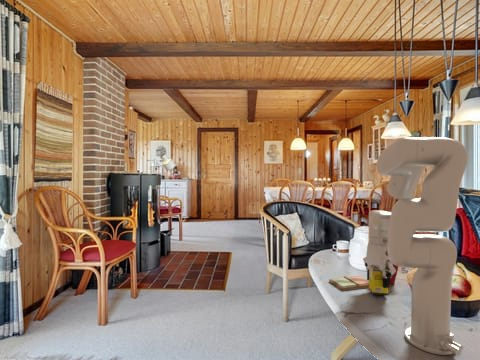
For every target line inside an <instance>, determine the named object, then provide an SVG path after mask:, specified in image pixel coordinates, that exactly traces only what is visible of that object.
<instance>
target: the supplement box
mask: <svg viewBox="0 0 480 360" xmlns="http://www.w3.org/2000/svg"><path fill="white" fill-rule="evenodd" d="M385 269H387V268H385ZM386 274H387V271H386ZM383 277H384V276H383V273H382V271H380V270H379V269H378V267H376V266H373V265H370V266H369V288H368V290H369V291H370V293H371V294H372V295H378V296H389V288H383Z"/></svg>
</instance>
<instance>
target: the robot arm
mask: <svg viewBox="0 0 480 360" xmlns="http://www.w3.org/2000/svg"><path fill="white" fill-rule="evenodd" d="M468 159H469V158H468V151H467V150H466V147H465V146H464V144H463V143H462V142H461V141H459V140H457V139H454V138H449V137H440V136H439V137H438V136H437V137H436V136H435V137H434V136H431V137H427V136H423V137H414V136H413V137H411V136H410V137H408V136H407V137H406V136H405V137H401V138H398V139H397V140H395V141H394V142H392V143H391V144H389V146H386V148H384V149H383V150H382V152H380V154H379V156H378V158H377V160H376V164H375V165H376V171H377V172H378V174H379V175H381V176H385V177H386V176H390V178H389V179H388V183H387V185H386V192H387V193H388V195H389V196H391V197H392V198H394V199H395V200H397V201H395V202H394V204H393V206H392V208H391V211H386V210H379V209H374V210H373V209H372V210H370V211H369V212H368V243H367V247H366V253H365V254H366V256H365V257H363V258H362V260H363V262H364V266H365V271H366V278H367V279H366V280H368V281H369V266H370V265H373V266H376V267H378V269H379V270H380V271H382V273H383V276H384V277H383V288H388V289H389V288H391V284H390V278H392V276H393V275H394V273H395V272H396V269H395V268H394V267H393V264H394V265H395V266H398V268H403V269H404V268H405V269H416V270H415V272H414V274H413V276H412V280H411V308H410V309H411V310H410V311H411V312H410V315H411V316H410V327H408V328H406V329H405V330H404V337H405V339H406V340H407V342H409V343H410V344H411V345H412V346H413V347H416V348H418V349H420V350H421V351H425V352H427V353H430V354H434V355H440V356H450V355H455V356H457V357H459V356H460V355H461V354H462V351H463V349H464V346H463V345H461V344H460V343H458V342H456V341H455V338H454V337H455V334H453V333H452V332H451V317H452V316H451V311H452V309H451V308H452V306H451V305H452V281H453V274H454V269H455V266H456V263H457V260H458V251H457V247H456V245H455V243H454V242H453V241H452V240H451V239H450V238H448V237H447V236H444V235H440V234H431V233H442V232H448V231H450V230H451V229H452V228H454V224H455V221H456V216H457V215H456V214H457V208H458V200H459V195H460V194H459V193H460V185H461V183H462V179H463V177H464V174H465V172H466V168H467V165H468ZM425 167H434V168H433V169H432V170H430V172H429V173H428V174H427V176H426V177H425V178H424V180H423V182H422V186H421V193H420V194H421V195H420V196H419V198H417V197H416V198H415V196H414V193H415V191H416V188H417V186H418V184H419V181H420V179H421V177H422V174H423V172H424V170H425ZM415 233H420V234H415ZM422 233H423V234H422ZM424 233H425V234H424ZM426 233H427V234H426ZM428 233H430V234H428ZM385 268H387V269H385ZM389 270H390V271H389ZM386 271H387V274H386Z"/></svg>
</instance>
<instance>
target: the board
mask: <svg viewBox="0 0 480 360" xmlns="http://www.w3.org/2000/svg"><path fill="white" fill-rule="evenodd" d="M328 282H329V283H330V284H332V285H334V286H335V287H336V288H337V289H339V290H341V291H343V292H344V291H352V290H361V289H369V281H368V280H367V279H366V278H364V277H362V276H359V275H356V276H346V275H343V277H339V278H338V277H337V278H331V279H330V278H329V280H328Z"/></svg>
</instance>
